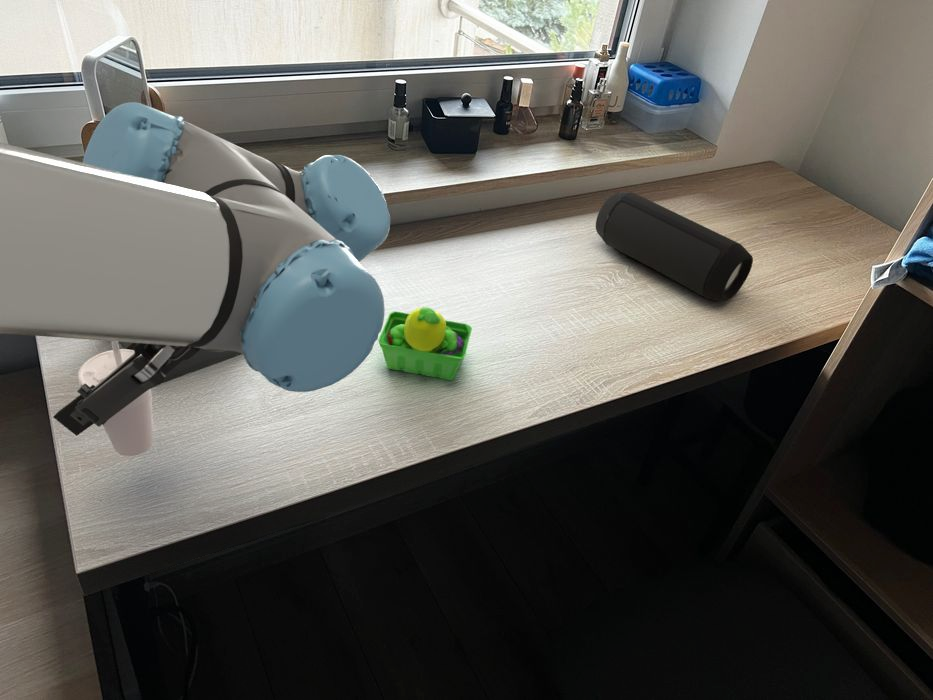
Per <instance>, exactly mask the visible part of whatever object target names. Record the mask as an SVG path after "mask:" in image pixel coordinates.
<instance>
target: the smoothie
mask: <svg viewBox="0 0 933 700" xmlns="http://www.w3.org/2000/svg"><path fill="white" fill-rule="evenodd" d="M110 344H111V348H112V349H111V350H106V351H104V352H103V351H102V352H100V353H97V354H96V355H93V356H92V357H90V358H88V360H86V361H85V362H84V363H83V364H82V365H81V366H80V368H79V369H78V372H77V380H78V385H79V389H80V388H81V387H82V386H83V385H84V384H85V383H86V384H87V385H88V386H89V387H91V386H92V385H94V386H96V385H98V384H99V383H100V382H101V381H102V380H103V379H105V378H106V377H107V376H108V375H109V374H111V373H112V372H113V371H114V370H115V369H116V368H118V367H119V366H120V365H121V364H122V363H124V362H125V361H126V360H127V359H128V358H129V357H131V356H132V355H133V354H134V353H135V352H134V350H129V349H123V348H120V344H119V342H117V341H110ZM153 421H154V420H153V399H152V388H151V389H149V390H147V391H146V392H145V393H143V394H142V395H141V396H139V397H138V398H137V399H135V400H134V401H133V402H131V403H130V404H129V405H127V406H126V407H125V408H123V409H122V410H120V411H119V412H118V413H116V414H115V415H114V416H112V417H111V418H110V419H108V420H107V422H106V423H105V424H103V425H102V427H103V429H104V431H105V433H106V435H107V437H108V439H109V441H110V443H111V445H112V447H113V449H114V451H115V452H116V453H117V454H118V455H121V456H125V457H133V456H138V455H141V454H143V453H145V452H147V451H149V449H150V448H151V447H152V446H153V444H154V440H155V439H154V422H153Z"/></svg>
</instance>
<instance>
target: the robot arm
mask: <svg viewBox="0 0 933 700" xmlns="http://www.w3.org/2000/svg"><path fill="white" fill-rule="evenodd" d="M390 229H391V215H390V212H389V208H388V203H387V199H386V198H385V195H384V193H383V192H382V190H381V188H380V186H379V185H378V182H376V181H375V179H374V178H373V177H372V176H371V174H370V172H368V170H366V169H365V168H364V167H363V166H362V165H360V164H359V163H357V161H355V160H353V159H352V158H349V157H347V156H345V155H341V154H325V155H322V156H321V157H319V158H317V159H316V160H315V161H313V162H308V163H306V165H305V166H304V169H302V170H301V171H297V170H295V169H292V168H291V167H288V166H286V165H284V164H281V163H278V162H274V161H272V160H270V159H266V158H264V157H262V156H259V155H257V154H256V153H253V152H251V151H249V150H247V149H245V148H243V147H240V146H238V145H236V144H235V143H233V142H230V141H229V140H226V139H224V138H221V137H219V136H217V135H215V134H213V133H211V132H209V131H207V130H205V129H203V128H200V127H199V126H197V125H195V124H192V123H189V121H186V120H185V119H184V117H183V116H180V115H172V114H169V113H166V112H163V111H161V110H159V109H156V108H154V107H151V106H148V105H146V104H144V103H142V102H141V103H140V102H134V101H133V102H132V101H131V102H124V103H121V104H119V105H117V106H115V107H114V108H112V109H111V110H110V111H108V113H106V114H105V115H104V116H103V117H102V119H101V120H100V122H99V123H98V124H97V126H96V127H95V129H94V131H93V133H92V135H91V137H90V138H89V141H88V144H87V147H86V149H85V152H84V156H83V160H82V162H81V161H77V160H72V159H69V158H64V157H60V156H56V155H52V154H48V153H44V152H40V151H36V150H33V149H28V148H24V147H21V146H17V145H16V146H15V145H13V144H7V143H4V142H0V334H7V335H20V336H36V337H46V338H47V337H48V338H49V337H50V338H63V339H78V340H91V341H102V342H103V341H105V342H111V341H117V342H118V343H119V342H131V344H130V345H128V346H127V347H126V348H124V349H129V350H134V352H135V353H134V354H133V355H132V356H131V357H129V358H128V359H127V360H126V361H125V362H124V363H122V364H121V365H120V366H119V367H118V368H116V369H115V370H114V371H113V372H112V373H111V374H109V375H108V376H107V377H106V378H105V379H103V380H102V381H101V382H100V383H99V384H98V385H96V386H94V385H92V386H91V387H89V386H88V385H87V384H86V383H85V384H84V385H83V386H82V387H81V388H80V387H79V389H78V390H77V391H76V392H77V393H78V394H79V395H78V396H76V397H75V398H73V399H72V400H71V401H70V402H69V403H67V404H66V405H65V406H63V407H62V408H61V409H59V410H58V411H57V412H56V413H55V414H54V415H53V416H52V418H53V419H55V420H56V421H57V422H58V423H60V424H61V425H62V426H63V427H64V428H66V429H67V430H68V431H70V433H72V434H73V435H75V436H76V437H78V436H79V435H80V434H82V433H83V432H85V431H86V430H87V429H89V428H90V427H92V426H93V425H95V426H96V427H98V428H99V427H101V426H103V424H105V423H106V422H107V420H108V419H110V418H111V417H112V416H114V415H115V414H116V413H118V412H119V411H120V410H122V409H123V408H125V407H126V406H127V405H129V404H130V403H131V402H133V401H134V400H135V399H137V398H138V397H139V396H141V395H142V394H143V393H145V392H146V391H147V390H149V389H151V390H152V389H153V388H155V387H156V386H158V385H159V386H160V385H161V384H162V382H163V381H164V379H165V374H167V373H168V372H169V371H171V370H172V369H173V368H174V367H175V366H177V365H178V364H179V363H180V362H182V361H183V360H188V359H190V358H191V357H192V356H193V355H195V354H196V353H197V352H198V351H199V350H200V349H201V348H202V349H206V350H210V351H217V352H221V351H227V350H230V351H236V352H240V353H242V354H243V357H244V360H245V362H246V364H247V366H249V368H250V369H251V370H253V371H255V372H258V373H260V375H262V376H263V377H264V378H265V379H266V380H267V381H268V382H269V383H271V384H272V385H274V386H276V387H278V388H281V389H283V390H285V391H288V392H295V393H308V392H314V391H318V390H321V389H324V388H327V387H330V386H332V385H335V384H336V383H339V382H340V381H342V380H343V379H345V378H346V377H348V376H349V375H351V374H352V373H353V372H354V371H356V370H357V368H359V367H360V365H362V364H363V362H365V360H366V359H367V358H368V356H369V355H370V353H371V352H372V351H373V348H374V345H375V343H376V341H377V340H379V334H381V333H382V330H383V327H384V321H385V314H386V313H385V310H386V308H385V299H384V295H383V291H382V289H381V287H380V285H379V284H378V282H377V280H376V278H375V277H374V276H373V275H372V274H371V273H370V272H369V271H368V269H366V267H365V266H364V265H363V264H362V263H361V261H363V260H364V259H365V258H366V257H368V256H369V255H370V254H371V253H372V252H374V251H375V250H376V249H377V248H379V247H380V246H381V245H382V244H383V243H384V242H385V241H386V240H387V238H388V236H389V233H390ZM242 354H241V355H242ZM163 383H164V382H163Z"/></svg>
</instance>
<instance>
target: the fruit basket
mask: <svg viewBox="0 0 933 700" xmlns="http://www.w3.org/2000/svg"><path fill="white" fill-rule="evenodd" d="M472 329H473V328H472V326H471V325H469V324H467V323H464V322H457V321H451V320H446V319H445V318H444V316H443V315H442V314H441V313H439V311H436V310H434V309H433V308H431V307H429V306H428V307H427V306H423V307H420V308H416V309H414V310H413V311H411V312H410V313H408V312H407V313H406V312H401V311H391V312H389V314H388V316H387V319H386V321H385V323H384V325H383V327H382V330H381V332H380V335H379V336H378V339H377V340H378V344H379V346H380V348H381V350H382V353H383V357H384V360H385V364H386V368H387V369H388V370H392V371H393V370H394V371H403V372H405V373H409V374H415V375H416V374H417V375H419V374H420V375H423V376H426V377H432V378H439V379H441V380H448V381H453V380H454V378H455V376H456V374H457V372H458V369H459V367H460V365H461V363H462V362H463V361H464V359H465V357H466V354H467V349H468V346H469V342H470V338H471V335H472Z"/></svg>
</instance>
